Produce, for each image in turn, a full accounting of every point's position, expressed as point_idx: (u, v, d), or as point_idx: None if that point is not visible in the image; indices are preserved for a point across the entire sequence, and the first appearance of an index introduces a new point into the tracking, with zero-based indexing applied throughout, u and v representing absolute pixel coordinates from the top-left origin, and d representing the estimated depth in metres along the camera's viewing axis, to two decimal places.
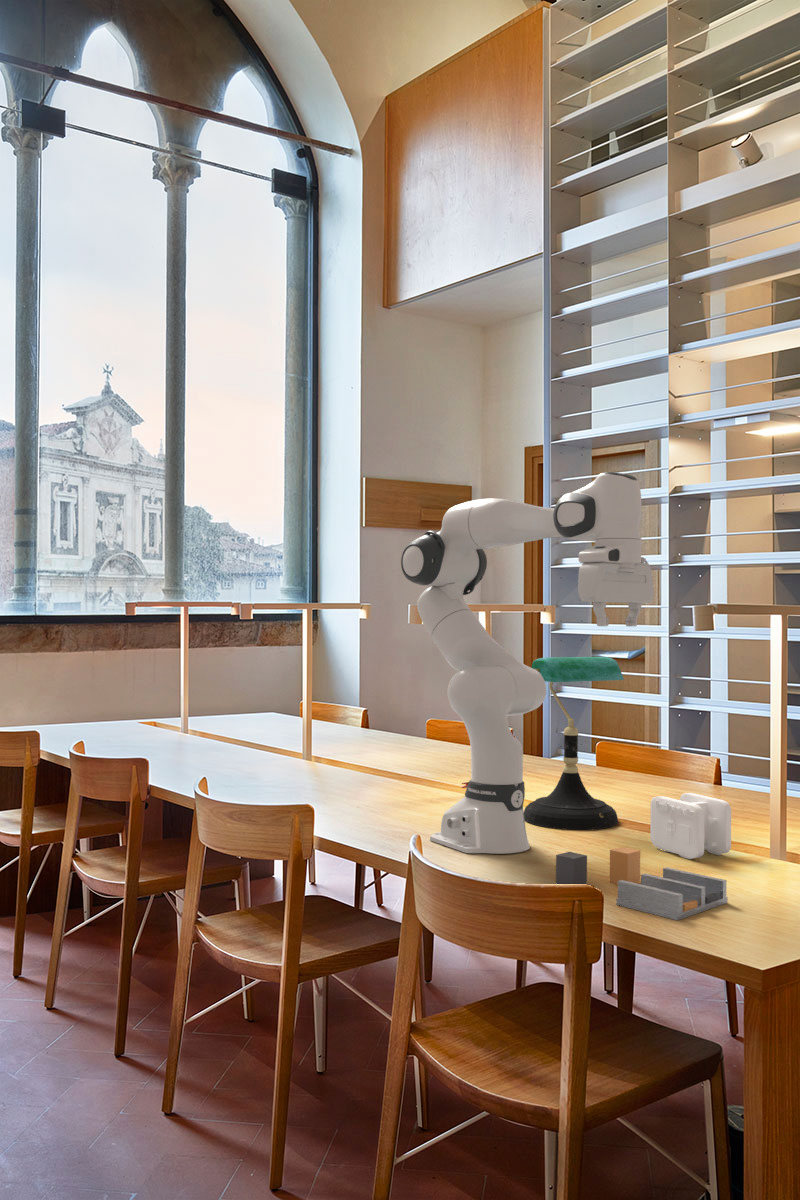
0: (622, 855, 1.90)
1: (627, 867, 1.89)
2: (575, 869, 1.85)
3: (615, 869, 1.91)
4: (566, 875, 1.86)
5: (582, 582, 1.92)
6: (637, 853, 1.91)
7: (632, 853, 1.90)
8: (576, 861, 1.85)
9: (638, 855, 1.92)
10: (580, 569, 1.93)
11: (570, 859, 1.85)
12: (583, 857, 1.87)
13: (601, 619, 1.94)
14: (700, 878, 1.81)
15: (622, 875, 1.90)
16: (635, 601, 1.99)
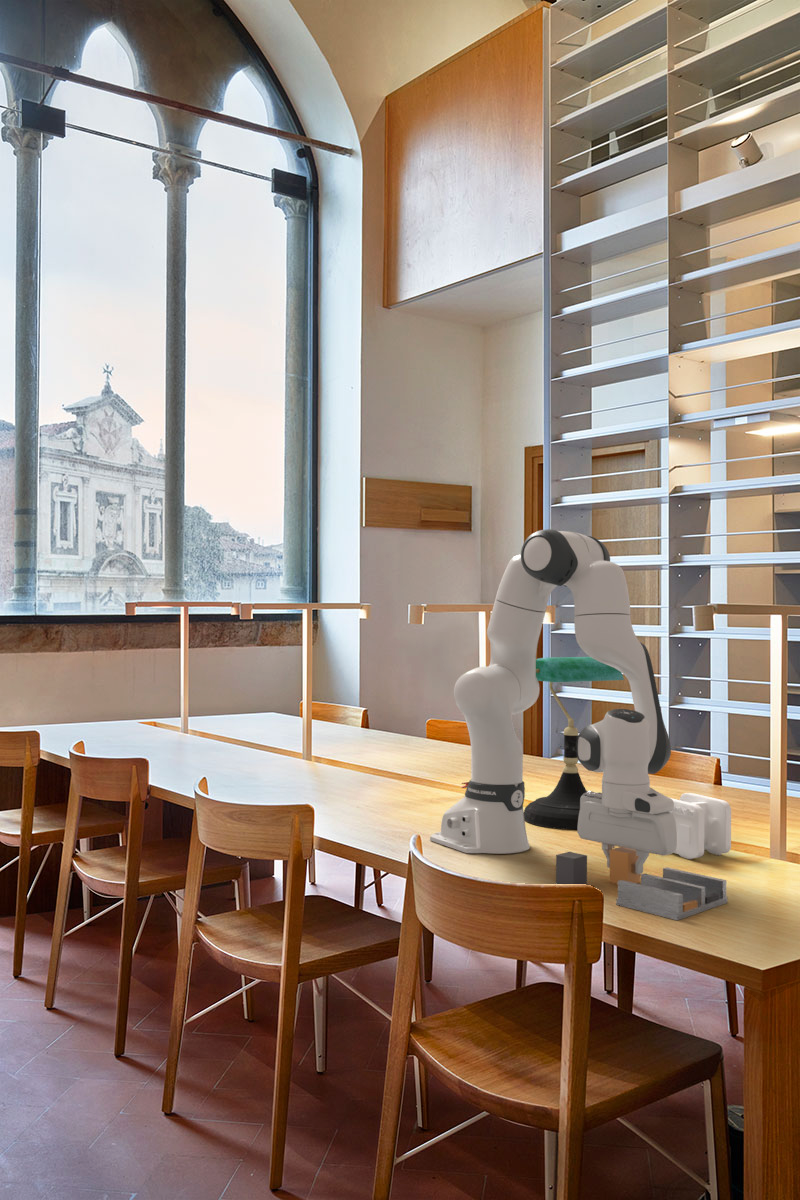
0: (622, 855, 1.90)
1: (627, 867, 1.89)
2: (575, 869, 1.85)
3: (615, 868, 1.91)
4: (566, 875, 1.86)
5: (667, 836, 1.84)
6: None
7: (632, 853, 1.90)
8: (576, 861, 1.85)
9: None
10: (662, 822, 1.84)
11: (570, 859, 1.85)
12: (583, 857, 1.87)
13: (641, 866, 1.90)
14: (700, 878, 1.81)
15: (622, 875, 1.90)
16: None
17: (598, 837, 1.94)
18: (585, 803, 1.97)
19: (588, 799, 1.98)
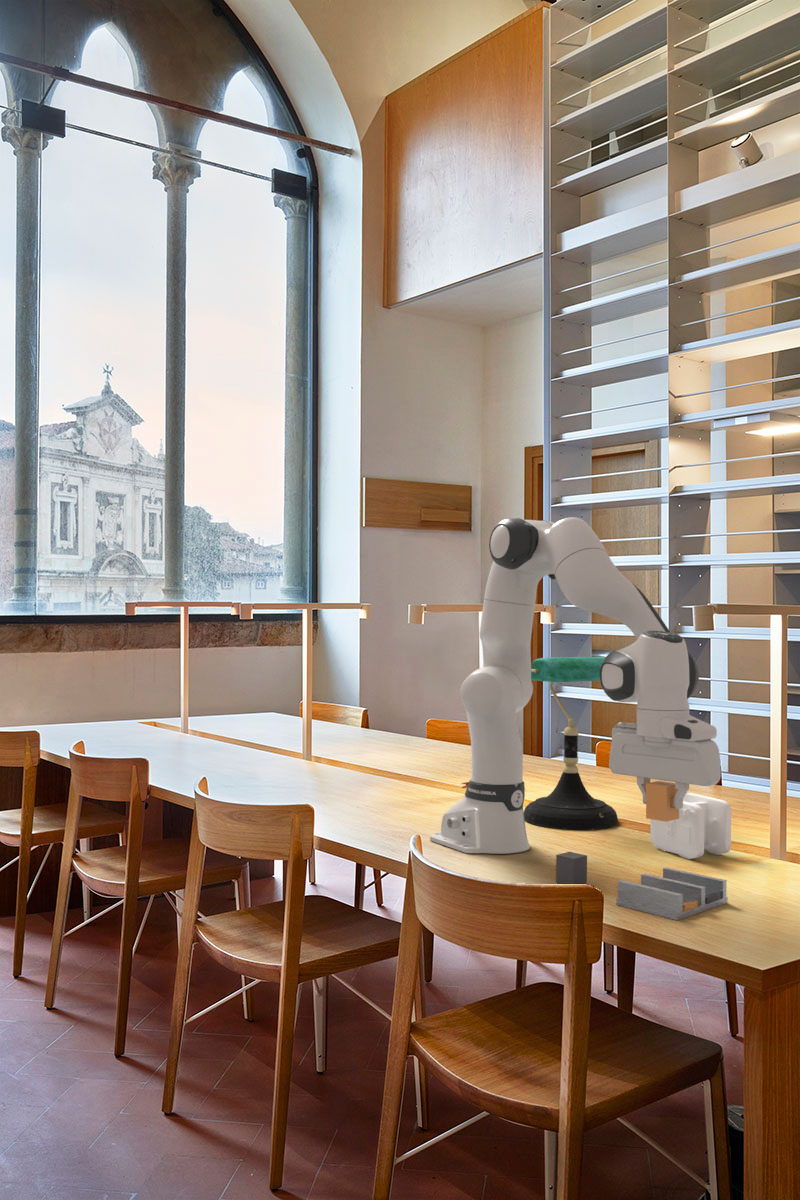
0: (660, 788, 1.74)
1: (666, 801, 1.73)
2: (575, 869, 1.85)
3: (652, 803, 1.75)
4: (566, 875, 1.86)
5: (711, 765, 1.68)
6: None
7: (671, 786, 1.74)
8: (576, 861, 1.85)
9: None
10: (705, 749, 1.68)
11: (570, 859, 1.85)
12: (583, 857, 1.87)
13: (681, 800, 1.73)
14: (700, 878, 1.81)
15: (660, 810, 1.74)
16: None
17: (633, 771, 1.78)
18: (618, 734, 1.80)
19: (621, 731, 1.81)
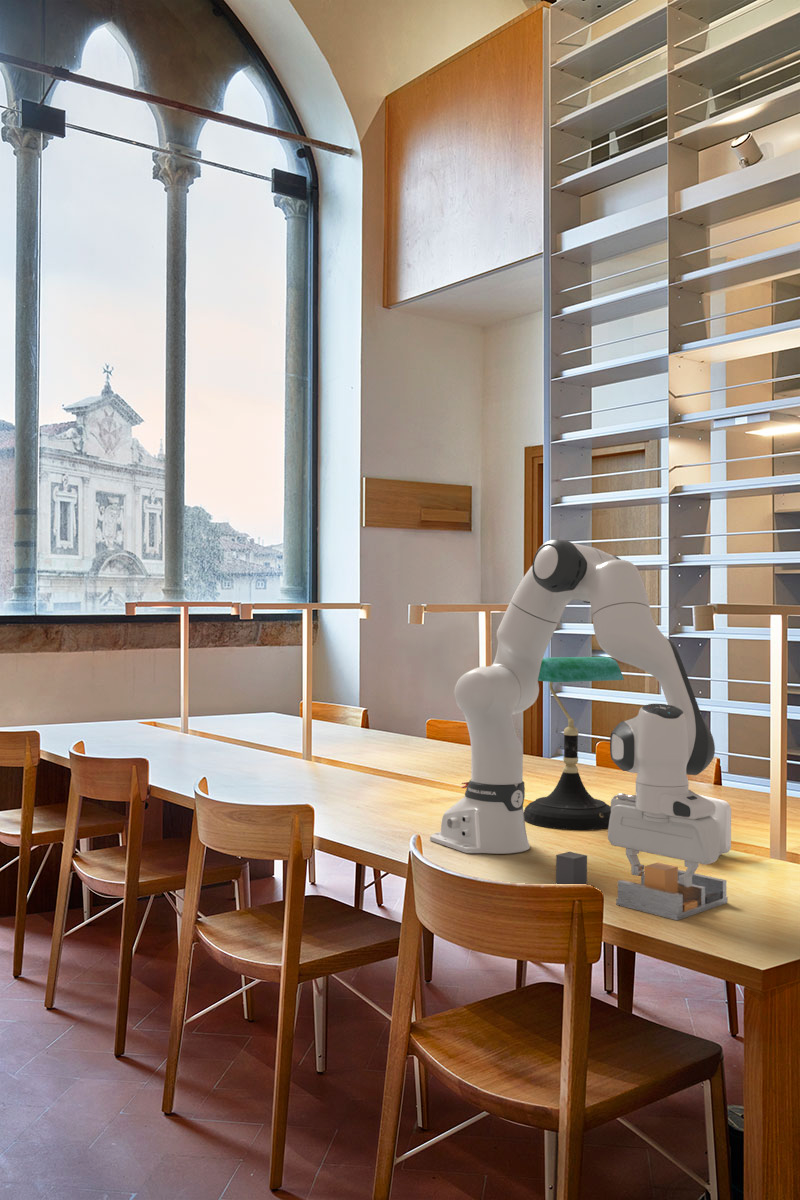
0: (659, 872, 1.73)
1: (664, 885, 1.73)
2: (575, 869, 1.85)
3: None
4: (566, 875, 1.86)
5: (709, 843, 1.67)
6: (674, 870, 1.75)
7: (669, 870, 1.74)
8: (576, 861, 1.85)
9: (675, 872, 1.75)
10: (704, 828, 1.67)
11: (570, 859, 1.85)
12: (583, 857, 1.87)
13: (690, 878, 1.71)
14: (700, 878, 1.81)
15: None
16: None
17: (631, 844, 1.78)
18: (617, 806, 1.80)
19: (620, 802, 1.81)
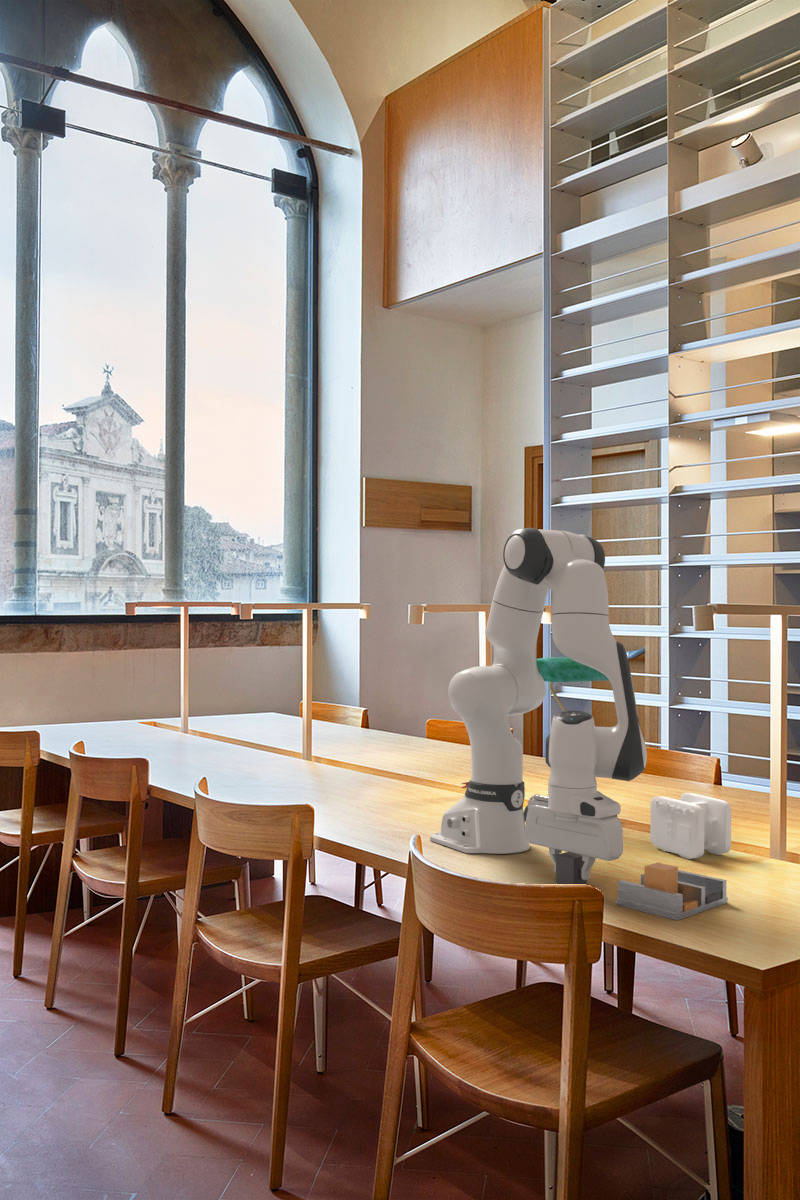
0: (659, 872, 1.73)
1: (664, 885, 1.73)
2: (575, 869, 1.85)
3: None
4: (566, 874, 1.86)
5: (613, 841, 1.80)
6: (674, 870, 1.75)
7: (669, 870, 1.74)
8: (576, 860, 1.85)
9: (675, 872, 1.75)
10: (608, 826, 1.79)
11: (570, 859, 1.85)
12: None
13: (587, 871, 1.85)
14: (700, 878, 1.81)
15: None
16: None
17: (545, 842, 1.90)
18: (532, 807, 1.92)
19: (535, 803, 1.93)
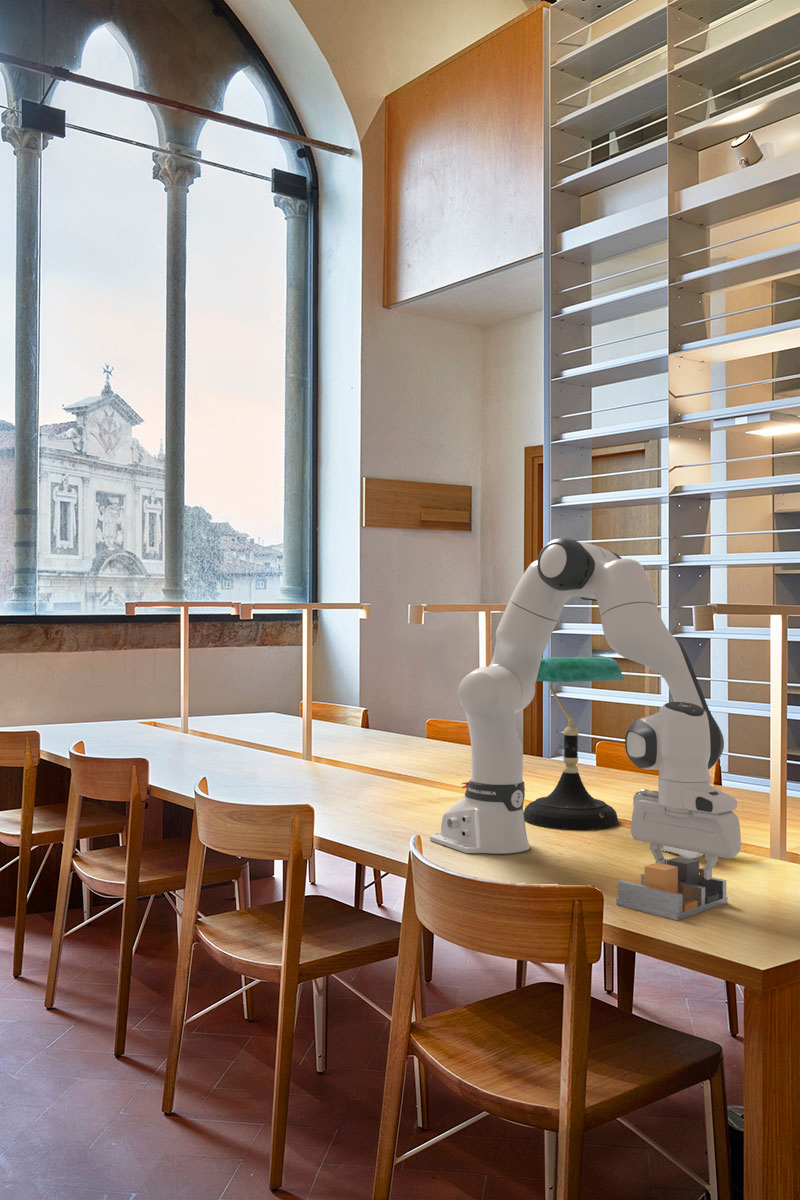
0: (659, 872, 1.73)
1: (664, 885, 1.73)
2: (688, 875, 1.78)
3: None
4: None
5: (731, 837, 1.72)
6: (674, 870, 1.75)
7: (669, 870, 1.74)
8: (689, 866, 1.78)
9: (675, 872, 1.75)
10: (726, 822, 1.72)
11: (683, 864, 1.78)
12: (695, 862, 1.79)
13: (710, 871, 1.76)
14: (700, 878, 1.81)
15: None
16: None
17: (654, 838, 1.82)
18: (639, 802, 1.85)
19: (642, 798, 1.86)
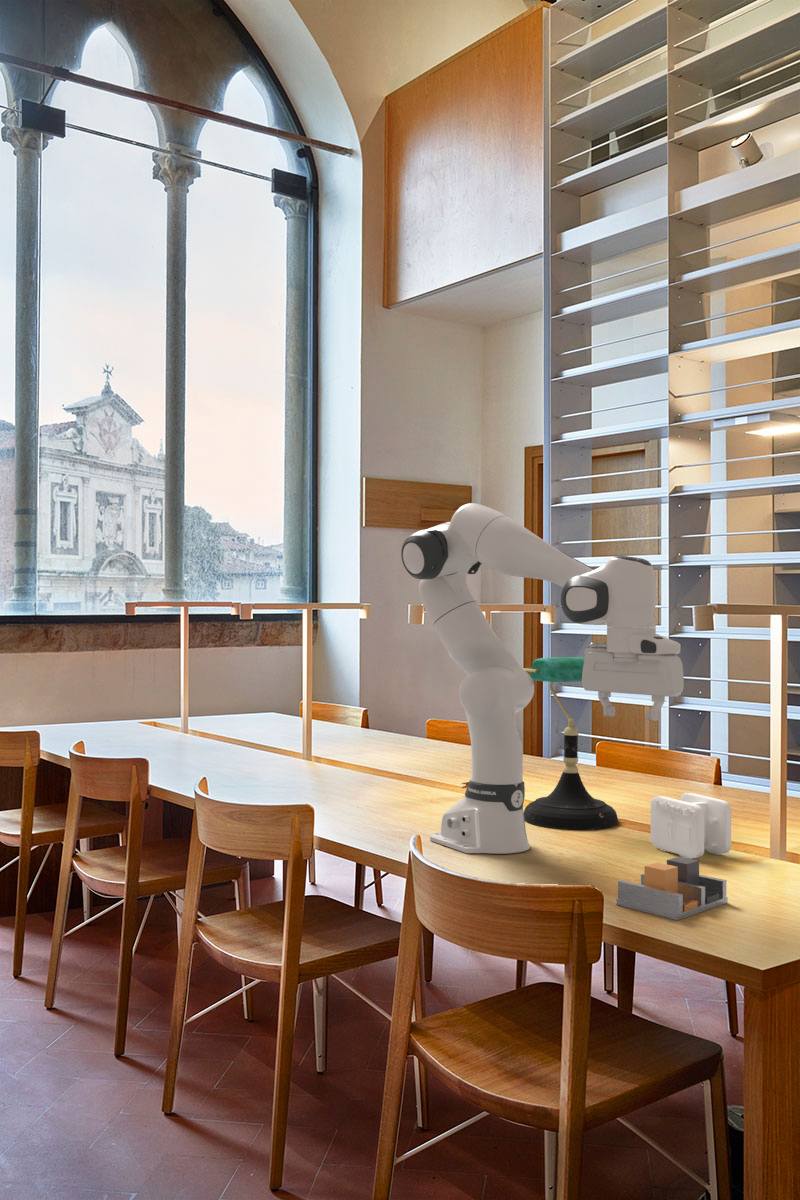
0: (659, 872, 1.73)
1: (664, 885, 1.73)
2: (688, 875, 1.78)
3: None
4: None
5: (674, 676, 1.80)
6: (674, 870, 1.75)
7: (669, 870, 1.74)
8: (689, 866, 1.78)
9: (675, 872, 1.75)
10: (669, 662, 1.80)
11: (683, 864, 1.78)
12: (695, 862, 1.79)
13: (656, 713, 1.84)
14: (700, 878, 1.81)
15: None
16: None
17: (603, 686, 1.91)
18: (590, 653, 1.93)
19: (593, 650, 1.94)
